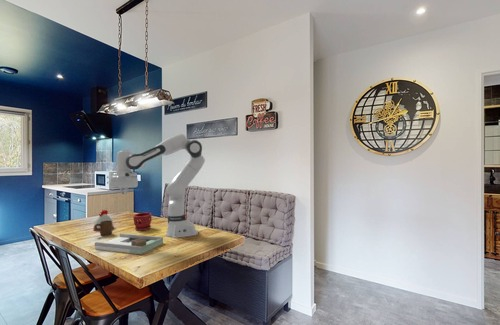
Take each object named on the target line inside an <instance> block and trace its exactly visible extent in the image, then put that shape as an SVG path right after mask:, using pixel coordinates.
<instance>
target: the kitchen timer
mask: <svg viewBox="0 0 500 325" xmlns="http://www.w3.org/2000/svg"><path fill="white" fill-rule="evenodd" d="M108 212H109V211H108V210H107V209H102V210H101V211H100V213H98V216H97V218H96V219H95V221H94V224H93V231H94V232H97V231H96V230H95V229H94V226H95V225H96V224H100V222H102V221H112V230H113V229H114V222H113V221H114V220H113V219H112V217H110V216H109V215H108V214H109V213H108ZM97 228H100V226H97Z"/></svg>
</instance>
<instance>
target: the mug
mask: <svg viewBox="0 0 500 325" xmlns="http://www.w3.org/2000/svg"><path fill="white" fill-rule="evenodd" d="M112 221H113V220H112ZM112 221H102V222H100V224H96V225H95V226H94V225H93V227H94V229H95V230H96V231H95V232H100V233H99V234H100V236H101V237H103V236H104V237H105V236H110V235H112V234H113V229H112ZM97 226H100V228H97Z"/></svg>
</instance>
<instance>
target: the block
mask: <svg viewBox="0 0 500 325" xmlns="http://www.w3.org/2000/svg"><path fill="white" fill-rule="evenodd" d="M145 245H146V240H145V239H142V238H140V239H136V240H132V241H131V246H141V247H143V246H145Z"/></svg>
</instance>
